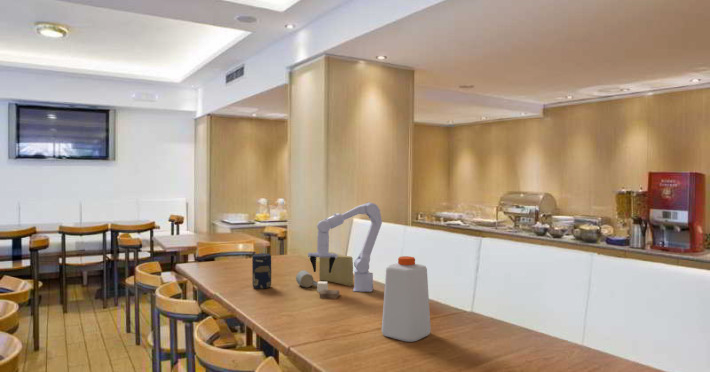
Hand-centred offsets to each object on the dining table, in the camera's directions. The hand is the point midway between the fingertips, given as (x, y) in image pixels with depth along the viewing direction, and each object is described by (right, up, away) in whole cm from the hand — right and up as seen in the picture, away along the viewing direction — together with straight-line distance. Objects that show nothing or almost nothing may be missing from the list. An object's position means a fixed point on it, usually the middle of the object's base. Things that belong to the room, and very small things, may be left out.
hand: (322, 272), depth 237 cm
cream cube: (0, -10, 0) cm, 10 cm away
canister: (-31, -9, +7) cm, 34 cm away
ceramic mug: (-9, -10, +11) cm, 17 cm away
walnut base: (+4, -10, -9) cm, 14 cm away
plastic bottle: (+35, -11, -64) cm, 73 cm away
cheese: (+7, -9, +20) cm, 24 cm away
